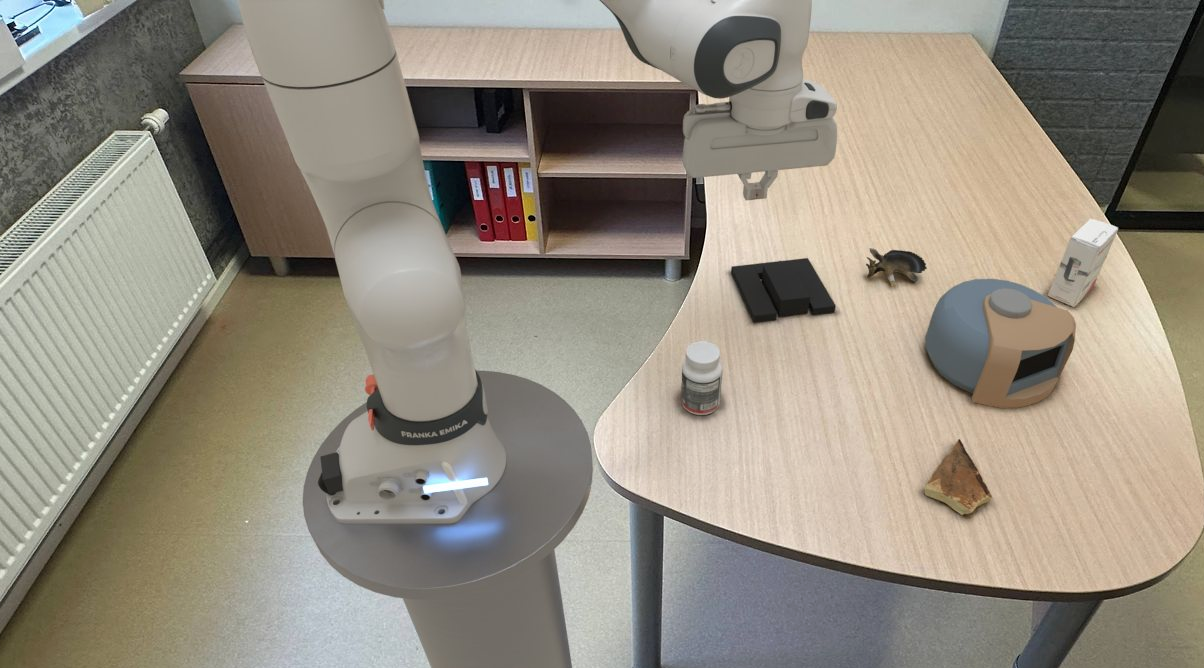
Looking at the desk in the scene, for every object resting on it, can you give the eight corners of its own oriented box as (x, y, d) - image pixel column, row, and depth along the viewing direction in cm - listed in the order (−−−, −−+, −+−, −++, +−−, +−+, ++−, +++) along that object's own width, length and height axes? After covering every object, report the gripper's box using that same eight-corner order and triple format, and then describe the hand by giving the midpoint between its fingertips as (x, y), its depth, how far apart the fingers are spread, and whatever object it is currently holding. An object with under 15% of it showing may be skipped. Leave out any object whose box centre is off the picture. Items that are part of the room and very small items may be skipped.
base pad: (753, 323, 127) (754, 315, 126) (730, 273, 137) (731, 266, 136) (834, 312, 130) (836, 305, 129) (806, 264, 140) (807, 257, 138)
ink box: (1065, 274, 138) (1091, 215, 130) (1094, 286, 136) (1122, 227, 128) (1044, 296, 134) (1070, 236, 125) (1073, 308, 131) (1101, 248, 123)
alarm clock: (984, 423, 112) (1011, 360, 103) (897, 340, 125) (914, 278, 116) (1082, 384, 118) (1115, 321, 109) (989, 309, 131) (1012, 248, 122)
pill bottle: (688, 385, 117) (690, 334, 110) (724, 394, 115) (729, 343, 108) (675, 411, 113) (676, 359, 106) (713, 420, 111) (717, 369, 105)
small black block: (778, 317, 129) (781, 300, 126) (761, 281, 136) (763, 265, 133) (807, 313, 129) (810, 296, 127) (788, 278, 136) (791, 261, 134)
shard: (956, 445, 109) (959, 436, 107) (1009, 473, 105) (1013, 464, 104) (920, 492, 102) (923, 483, 101) (975, 523, 99) (979, 515, 98)
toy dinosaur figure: (876, 292, 132) (929, 282, 131) (870, 250, 131) (924, 239, 130) (866, 288, 139) (916, 279, 139) (860, 248, 138) (911, 239, 138)
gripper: (689, 116, 94) (685, 217, 104) (849, 103, 97) (831, 202, 107) (678, 95, 99) (675, 193, 108) (831, 83, 102) (816, 179, 111)
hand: (754, 197), depth 108 cm, fingers closed
